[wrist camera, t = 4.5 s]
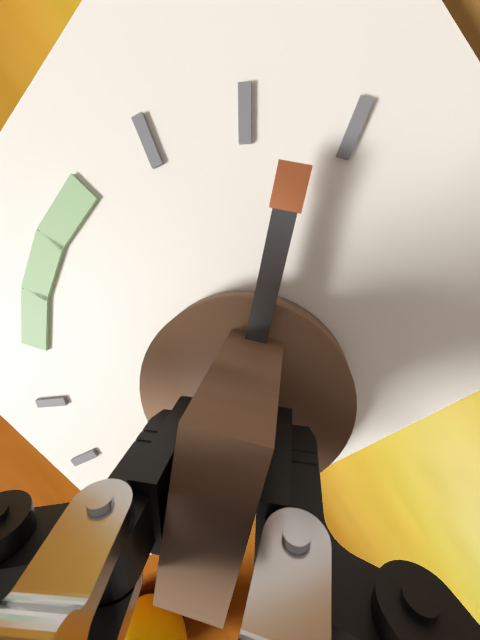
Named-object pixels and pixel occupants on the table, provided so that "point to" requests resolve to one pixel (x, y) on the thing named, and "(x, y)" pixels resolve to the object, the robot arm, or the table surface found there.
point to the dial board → (238, 204)
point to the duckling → (154, 622)
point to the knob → (238, 412)
